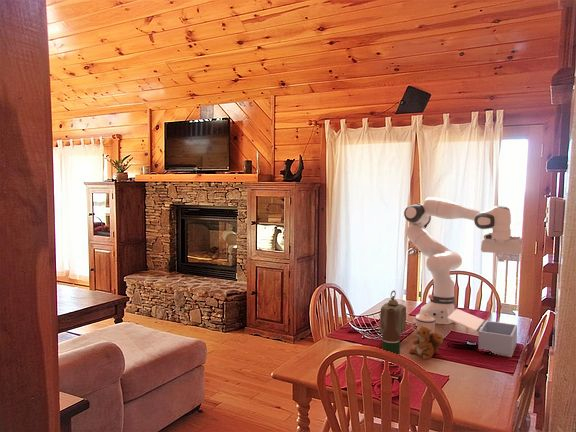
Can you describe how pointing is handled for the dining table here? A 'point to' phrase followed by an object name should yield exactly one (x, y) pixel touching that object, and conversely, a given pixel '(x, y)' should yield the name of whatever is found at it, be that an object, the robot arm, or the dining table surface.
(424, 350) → the stuffed squirrel
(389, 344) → the beer bottle
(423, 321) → the teacup with lid
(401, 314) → the brown cowbell
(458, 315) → the lid
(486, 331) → the box
